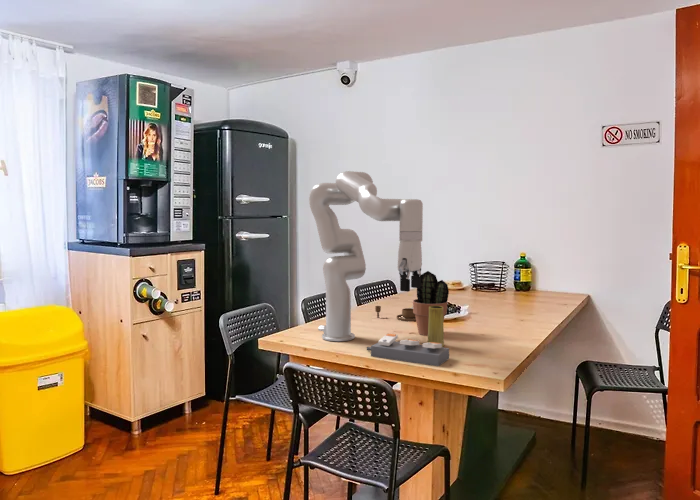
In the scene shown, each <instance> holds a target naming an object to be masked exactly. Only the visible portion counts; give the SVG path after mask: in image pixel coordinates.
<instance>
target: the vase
mask: <svg viewBox="0 0 700 500" xmlns="http://www.w3.org/2000/svg"><path fill="white" fill-rule="evenodd" d="M444 335H445V333H444V321H443V307H442V306H429V321H428V336H427V343H429V342H435V343H441V344H442V347H443V348H445V347H444V346H445V343H444V342H445V341H444V339H445V338H444Z"/></svg>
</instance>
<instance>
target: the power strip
mask: <svg viewBox="0 0 700 500" xmlns="http://www.w3.org/2000/svg"><path fill="white" fill-rule="evenodd" d="M422 346H423V344H420V343H419V345H404V344H400V341H397V340H395V341H394V342H393V343H392V344H391V345H390V346H386V345H378V342H376V343H375V344H372V345H371V346H366V351H370V357H375V358H382V359H388V360H392V361H401V362H407V363H414V364H419V365H426V366H427V365H429V366H434V367H439V366H441V365H442V364H444V363H445V362H447V361H448V360H450V348H449V347H442V348H426V347H422Z"/></svg>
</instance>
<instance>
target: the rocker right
mask: <svg viewBox="0 0 700 500" xmlns="http://www.w3.org/2000/svg"><path fill="white" fill-rule="evenodd" d="M422 345H423V346H422V347H426V348H442V344H441V343H435V342H429V343H428V342H424V343H422Z"/></svg>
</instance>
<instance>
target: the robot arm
mask: <svg viewBox="0 0 700 500" xmlns="http://www.w3.org/2000/svg"><path fill="white" fill-rule="evenodd" d="M377 189H378V188H377V186H376V185H375V183H374V181H373V179H372V176H371V175H370V174H368V173H367V172H365V171H364V172H363V171H353V170H352V171H351V170H349V171H347V170H346V171H343V172H341V173H339V174H338V175H337V177H336V178H335V182H320V183H317V184H316V185H314V186H313V187H312V188H311V190H310V193H309V197H308V202H309V207H310V211H311V214H312V215H313V218H314V220H315V221H314V222H315V223H316V224H315V225H316V228H317V232H318V237H319V240H320V241H319V242H320V244H321V246H320V247H321V248H322V251H323V252H324V253H326V254H343V255H336V256H335V255H334V256H331V257H329V258H327V259H326V260H325V261H324V263H323V264H322V266H323V267H322V271H323V277H324V278H323V279H324V284H325V325H324V324H319V326H318V328H317V330H318V331H320V332H323V333H322V335H321V338H322V339H323V340H325V341H329V342H347V341H351V340H352V341H353V340H354V339H355V337H356V335H355V333H354V332H352V328H351V326H352V322H351V321H352V319H351V318H352V316H351V315H352V305H351V302H352V301H351V299H352V298H351V289H350V287H349V284H348V282H347V281H350V280H358V279H361V278H363V277H364V275H365V274H366V269H367V268H366V266H367V264H366V259H365V256H364V251H363V247H362V244H361V241H360V237H359V235H358V234H357V232H355V230H353V229H350V228H341V226H340V223H339V221H338V220H339V219H338V217H337V215H336V213H335V212H334V210H333V209H332V208H331V207H330V206H347V205H348V206H349V205H350V204H353V203H354V202H357V204H358V205H359V208H360V210H361V212H362V213H363V214H365V215H367V216H368V217H369V218H371V219H373V220H375V221H377V222H378V221H379V222H399V230H398V231H399V240H398V241H399V243H398V244H399V245H398V252H397V270H398V274H399V282H400V283H399V285H400V286H399V287H400V288H399V289H400V291H401V292H407V293H408V292H410V291H411V288H414V289H417V288H420V284H421V275H422V272H421V271H422V265H423V262H422V261H423V252H422V242H423V222H424V221H423V216H424V215H423V210H424V207H423V205H424V204H423V201H422V200H421V199H417V198H416V199H415V198H409V199H408V198H407V199H405V198H404V199H401V198H381V197H379V196H377V195H378V190H377Z"/></svg>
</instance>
